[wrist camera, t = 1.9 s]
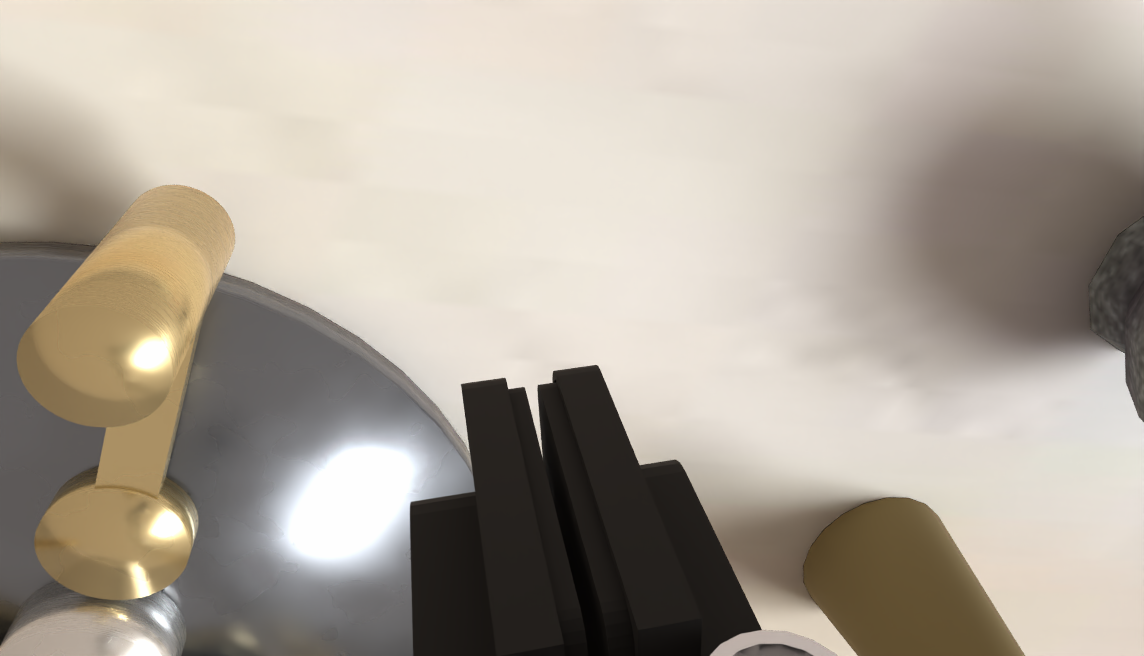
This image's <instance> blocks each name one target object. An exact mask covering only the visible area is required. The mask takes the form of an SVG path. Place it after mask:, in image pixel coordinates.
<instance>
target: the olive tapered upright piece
mask: <svg viewBox="0 0 1144 656" xmlns="http://www.w3.org/2000/svg"><path fill="white" fill-rule="evenodd" d="M803 570H804V584H805V586H806V588H807V590H808V592H809V594H810V596H811V598H812V599H813V600H814V601H815V603H816V604H817V605H818V606H819V608H820V609H821V610H822V611H823V613H824V614H825V615H826V616H827V618H828V619H829V620H830V621H831V623H832V624H833V625H834V626H835V628H836V629H837V630H838V631H839V633H840V634H841V635H842V636H843V638H844V639H845V640H846V641H847V643H848V644H849V645H850V646H851V648H852V649H853V650H854V651H855V653H856V654H857V655H858V656H1025V655H1024V653H1023V652H1022V650H1021V648H1020V647H1019V645H1018V644H1017V642H1016V640H1015V639H1014V637H1013V636H1012V634H1011V632H1010V631H1009V629H1008V628H1007V626H1006V624H1005V623H1004V621H1003V619H1002V618H1001V616H1000V615H999V613H998V611H997V610H996V608H995V607H994V605H993V603H992V602H991V600H990V599H989V597H988V595H987V594H986V592H985V591H984V589H983V587H982V586H981V584H980V583H979V581H978V579H977V578H976V576H975V574H974V573H973V571H972V570H971V568H970V566H969V565H968V563H967V562H966V560H965V558H964V557H963V555H962V554H961V552H960V550H959V549H958V547H957V546H956V544H955V542H954V541H953V539H952V537H951V536H950V534H949V533H948V531H947V529H946V528H945V526H944V525H943V523H942V521H941V520H940V518H939V517H938V515H937V514H936V513H935V512H934V511H933V510H932V509H931V508H929V507H928V506H927V505H926V504H924V503H921V502H918V501H915V500H913V499H910V498H884V499H880V500H876V501H872V502H868V503H864V504H862V505H860V506H858V507H856V508H854V509H852V510H850V511H848V512H846V513H845V514H843V515H841V516H840V517H839V518H838V519H836V520H835V521H834V522H833V523H831V524H830V525H829V526H828V527H827V528H825V529H824V530H823V531H822V533H821V534H820V535H819V537H818V538H817V539H816V541H815V542H814V543H813V545H812V546H811V547H810V550H809V552H808V555H807V558H806V560H805V563H804V566H803Z"/></svg>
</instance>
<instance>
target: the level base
mask: <svg viewBox="0 0 1144 656" xmlns="http://www.w3.org/2000/svg"><path fill="white" fill-rule="evenodd" d="M96 247H97V246H89V245H78V244H68V243H58V242H8V243H0V656H413V630H412V589H411V547H410V503H411V502H413V501H419V500H425V499H431V498H438V497H444V496H450V495H457V494H463V493H469V492H475V487H474V479H473V472H472V464H471V456H470V453H469V451H468V450H467V448H466V446H465V444H464V442H463V441H462V439H461V438H460V437H459V435H458V434H457V433H456V431H455V430H454V428H453V427H452V426H451V424H450V423H449V422H448V420H447V419H446V418H445V416H444V415H443V414H442V412H441V411H440V410H439V408H438V407H437V406H436V405H435V404H434V403H433V402H432V400H431V399H430V398H429V397H428V396H427V395H426V394H425V393H424V392H423V391H422V390H421V389H420V388H419V387H418V386H417V385H416V384H415V383H414V382H413V381H412V380H411V379H410V378H409V377H408V376H407V375H406V374H405V373H404V372H403V371H402V370H400V369H399V368H398V367H397V366H395V365H394V364H393V363H391V362H390V361H389V360H388V359H386V358H385V357H384V356H382V355H381V354H380V353H379V352H377V351H376V350H375V349H373V348H372V347H371V346H369V345H368V344H367V343H366V342H364V341H363V340H362V339H360V338H359V337H357V336H356V335H354V334H352V333H351V332H349V331H347V330H346V329H344V328H342V327H340V326H339V325H337V324H335V323H334V322H332V321H330V320H329V319H327V318H325V317H324V316H322V315H320V314H319V313H317V312H315V311H314V310H312V309H310V308H308V307H306V306H304V305H301V304H299V303H297V302H295V301H292V300H290V299H288V298H286V297H284V296H281V295H279V294H277V293H275V292H272V291H270V290H268V289H266V288H263V287H261V286H259V285H257V284H254V283H252V282H249V281H246V280H243V279H240V278H236V277H233V276H230V275H227V274H224V273H223V275H222V277H221V279H220V281H219V283H218V286H217V288H216V290H215V292H214V294H213V296H212V299H211V301H210V303H209V305H208V307H207V310H206V312H205V314H204V317H203V321H202V326H201V330H200V334H199V338H198V342H197V347H196V351H195V355H194V359H193V364H192V368H191V372H190V376H189V381H188V385H187V389H186V393H185V397H184V402H183V406H182V410H181V414H180V419H179V423H178V427H177V431H176V435H175V440H174V444H173V448H172V452H171V457H170V461H169V465H168V469H167V474H166V477H167V478H169V479H171V480H173V481H174V482H175V483H177V484H178V485H179V486H180V487H181V488H182V489H183V490H185V491H186V493H187V494H188V495H189V496H190V498H191V499H192V501H193V503H194V505H195V507H196V510H197V514H198V530H197V534H196V537H195V540H194V544H193V547H192V550H191V553H190V556H189V560H188V562H187V565H186V567H185V569H184V571H183V572H182V573H181V575H180V576H179V577H178V578H177V579H176V580H175V581H174V582H173V583H172V584H170V585H169V586H167V587H166V588H164V589H162V590H160V591H159V592H156V593H154V594H151V595H148V596H145V597H141V598H135V599H128V600H107V599H100V598H94V597H90V596H86V595H83V594H80V593H78V592H75V591H73V590H71V589H69V588H67V587H65V586H63V585H62V584H60V583H59V582H57V581H56V580H55V579H54V578H52V577H51V576H50V575H49V574H48V573H47V572H46V571H45V569H44V568H43V566H42V565H41V564H40V562H39V560H38V558H37V555H36V552H35V545H34V539H35V533H36V529H37V527H38V525H39V523H40V521H41V519H42V517H43V516H44V514H45V512H46V510H47V509H48V507H49V505H50V503H51V501H52V500H53V498H54V496H55V494H56V493H57V492H58V490H59V489H60V488H61V487H62V486H63V485H64V484H65V483H66V482H67V481H68V480H70V479H71V478H72V477H74V476H76V475H78V474H79V473H82V472H84V471H87V470H90V469H93V468H97V467H99V463H100V458H101V453H102V448H103V443H104V437H105V432H106V428H105V427H92V426H85V425H81V424H77V423H74V422H71V421H68V420H65V419H63V418H61V417H59V416H57V415H55V414H54V413H52V412H50V411H49V410H47V409H46V408H44V407H43V406H42V405H41V404H40V403H38V402H37V401H36V400H35V399H34V398H33V397H32V395H31V394H30V393H29V392H28V390H27V389H26V387H25V386H24V384H23V382H22V380H21V378H20V375H19V372H18V368H17V350H18V345H19V343H20V340H21V338H22V336H23V335H24V333H25V332H26V330H27V329H28V328H29V327H30V325H31V324H32V323H33V322H34V321H35V319H36V318H37V317H38V316H39V315H40V313H41V312H42V311H43V310H44V309H45V308H46V306H47V305H48V304H49V303H50V302H51V300H52V299H53V298H54V297H55V296H56V294H57V293H58V292H59V291H60V290H61V288H62V287H63V286H64V285H65V284H66V283H67V281H68V280H69V279H70V278H71V277H72V275H73V274H74V273H75V272H76V271H77V269H78V268H79V267H80V266H81V265H82V264H83V262H84V261H85V260H86V259H87V258H88V256H89V255H90V254H91V253H92V252H93V250H94V249H95V248H96Z"/></svg>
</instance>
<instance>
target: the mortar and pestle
mask: <svg viewBox="0 0 1144 656" xmlns="http://www.w3.org/2000/svg"><path fill="white" fill-rule="evenodd" d="M1089 302H1090V323H1091V330H1092V331H1093V332H1095V333H1096V334H1098V335H1099V336H1100V337H1102V338H1103V339H1105V340H1106V341H1107V342H1109V343H1110V344H1112V345H1113V346H1114V347H1116V348H1117V349H1119V350H1120V351H1121V352H1123V353H1125V368H1126V384H1127V386H1128V389H1129V392H1130V394H1131V397H1132V400H1133V402H1134V405H1135V408H1136V410H1137V413H1138V416H1139V418H1140V419H1141V420H1142V421H1143V422H1144V217H1142V218H1141V219H1140V220H1138V221H1137V222H1136V223H1134V224H1133V225H1131V226H1130V227H1129V228H1127V229H1126V230H1124V231H1123V232H1122V233H1120V234H1119V235H1118V236H1117V238H1116V240H1115V241H1114V243H1113V245H1112V247H1111V248H1110V250H1109V252H1108V253H1107V255H1106V257H1105V259H1104V260H1103V262H1102V264H1101V266H1100V267H1099V269H1098V271H1097V272H1096V274H1095V276H1094V278H1093V279H1092V281H1091V283H1090V285H1089Z"/></svg>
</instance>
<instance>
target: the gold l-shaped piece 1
mask: <svg viewBox="0 0 1144 656" xmlns="http://www.w3.org/2000/svg"><path fill="white" fill-rule="evenodd" d="M234 245H235V232H234V227H233V224H232V222H231V219H230V217H229V216H228V214H227V212H226V211H225V210H224V208H223V207H222V206H221V205H220V204H219V203H218V202H217V201H216V200H214V199H213V198H212V197H210V196H209V195H207V194H206V193H204V192H202V191H200V190H197V189H194V188H191V187H187V186H182V185H165V186H160V187H156V188H153V189H151V190H149V191H147V192H145V193H144V194H142V195H141V196H140V197H139V198H138V199H137V200H136V201H135V202H134V203H133V204H132V205H131V207H130V208H129V209H128V210H127V211H126V212H125V214H124V215H123V216H122V217H121V218H120V220H119V221H118V222H117V223H116V224H115V226H114V227H113V228H112V229H111V230H110V231H109V233H108V234H107V235H106V236H105V237H104V239H103V240H102V241H101V242H100V243H99V245H98V246H97V247H96V248H95V249H94V250H93V252H92V253H91V254H90V255H89V256H88V258H87V259H86V260H85V261H84V262H83V264H82V265H81V266H80V267H79V268H78V269H77V271H76V272H75V273H74V274H73V275H72V277H71V278H70V279H69V280H68V281H67V283H66V284H65V285H64V286H63V287H62V288H61V290H60V291H59V292H58V293H57V294H56V296H55V297H54V298H53V299H52V300H51V302H50V303H49V304H48V305H47V306H46V308H45V309H44V310H43V311H42V312H41V313H40V315H39V316H38V317H37V318H36V319H35V321H34V322H33V323H32V324H31V325H30V327H29V328H28V329H27V330H26V332H25V333H24V335H23V336H22V338H21V340H20V343H19V345H18V350H17V368H18V372H19V375H20V378H21V380H22V382H23V384H24V386H25V387H26V389H27V390H28V392H29V393H30V394H31V395H32V397H33V398H34V399H35V400H36V401H37V402H38V403H40V404H41V405H42V406H43V407H44V408H46V409H47V410H49V411H50V412H52V413H54V414H55V415H57V416H59V417H61V418H63V419H65V420H68V421H71V422H74V423H77V424H81V425H85V426H92V427H105V428H106V432H105V437H104V443H103V448H102V453H101V458H100V463H99V467H97V468H93V469H90V470H87V471H84V472H82V473H79V474H78V475H76V476H74V477H72V478H71V479H70V480H68V481H67V482H66V483H65V484H64V485H63V486H62V487H61V488H60V489H59V490H58V492H57V493H56V494H55V496H54V498H53V500H52V501H51V503H50V505H49V507H48V509H47V510H46V512H45V514H44V516H43V517H42V519H41V521H40V523H39V525H38V527H37V529H36V533H35V539H34V545H35V552H36V555H37V558H38V560H39V562H40V564H41V565H42V566H43V568H44V569H45V571H46V572H47V573H48V574H49V575H50V576H51V577H52V578H54V579H55V580H56V581H57V582H59V583H60V584H62V585H63V586H65V587H67V588H69V589H71V590H73V591H75V592H78V593H80V594H83V595H86V596H90V597H94V598H100V599H107V600H128V599H135V598H141V597H145V596H148V595H151V594H154V593H156V592H159V591H160V590H162V589H164V588H166V587H167V586H169V585H170V584H172V583H173V582H174V581H175V580H176V579H177V578H178V577H179V576H180V575H181V573H182V572H183V571H184V569H185V567H186V565H187V562H188V560H189V556H190V553H191V550H192V547H193V544H194V540H195V537H196V534H197V530H198V514H197V510H196V507H195V505H194V503H193V501H192V499H191V498H190V496H189V495H188V494H187V493H186V491H185V490H183V489H182V488H181V487H180V486H179V485H178V484H177V483H175V482H174V481H173V480H171V479H169V478H167V477H166V474H167V469H168V465H169V461H170V457H171V452H172V448H173V444H174V440H175V435H176V431H177V427H178V423H179V419H180V414H181V410H182V406H183V402H184V397H185V393H186V389H187V385H188V381H189V376H190V372H191V368H192V364H193V359H194V355H195V351H196V347H197V342H198V338H199V334H200V330H201V326H202V321H203V317H204V314H205V312H206V310H207V307H208V305H209V303H210V301H211V299H212V296H213V294H214V292H215V290H216V288H217V286H218V283H219V281H220V279H221V277H222V275H223V272H224V270H225V268H226V266H227V264H228V261H229V259H230V257H231V255H232V252H233V249H234Z"/></svg>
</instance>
